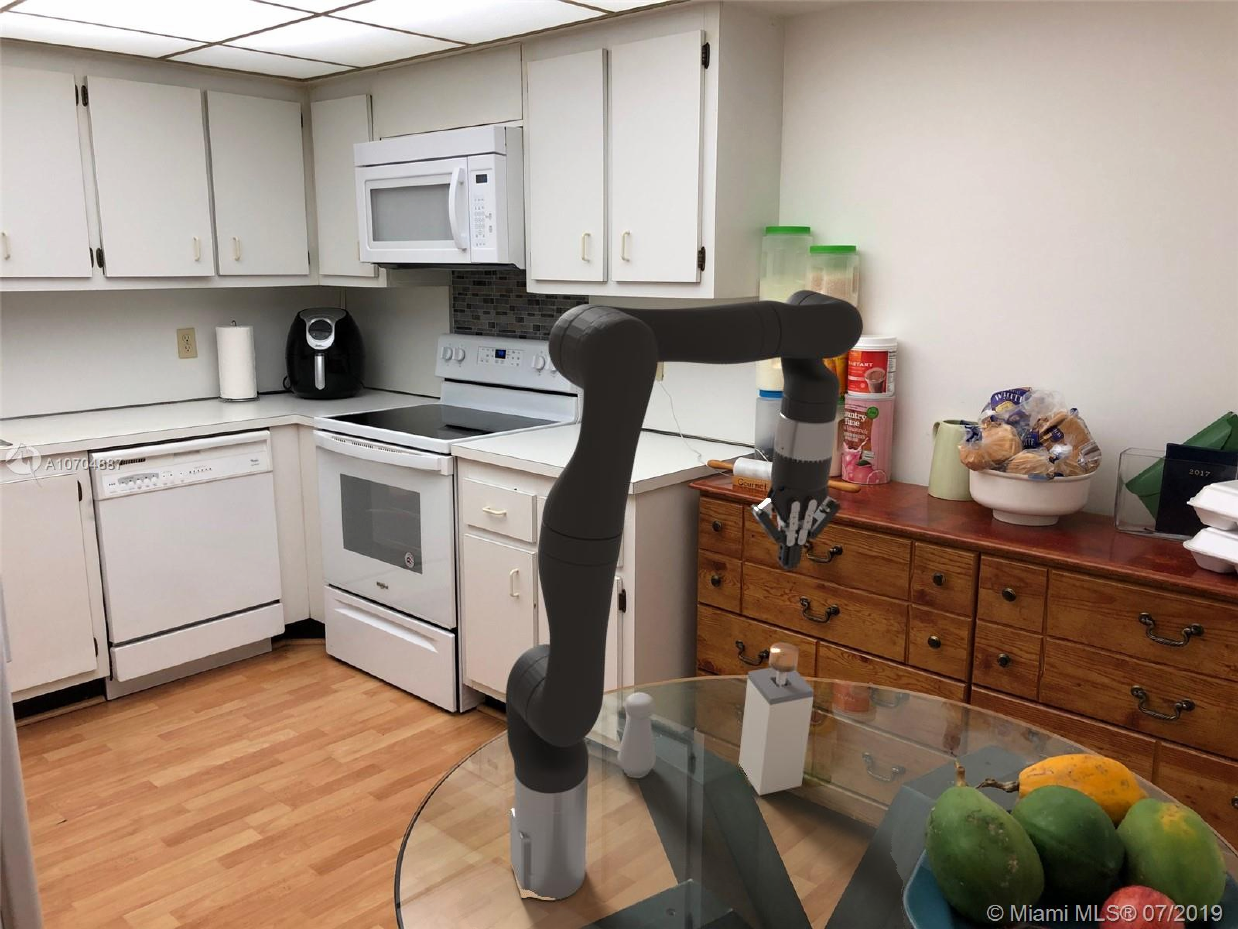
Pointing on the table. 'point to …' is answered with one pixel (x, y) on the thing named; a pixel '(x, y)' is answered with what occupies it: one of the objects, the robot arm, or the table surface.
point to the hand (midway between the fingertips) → (788, 566)
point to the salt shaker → (637, 736)
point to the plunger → (783, 660)
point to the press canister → (775, 730)
